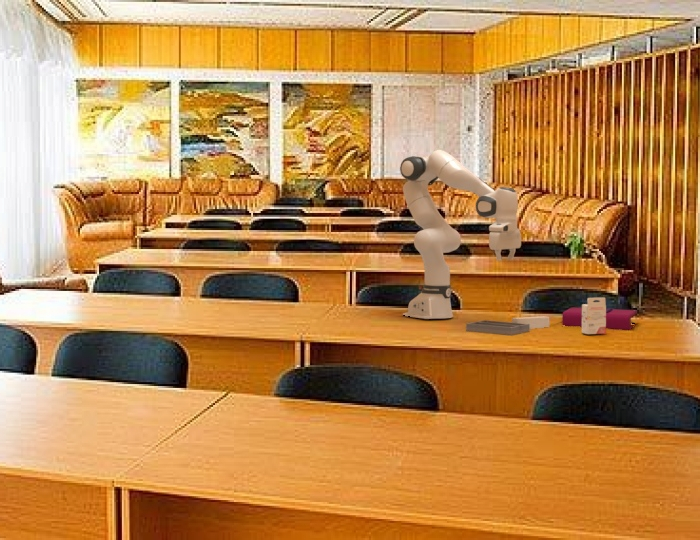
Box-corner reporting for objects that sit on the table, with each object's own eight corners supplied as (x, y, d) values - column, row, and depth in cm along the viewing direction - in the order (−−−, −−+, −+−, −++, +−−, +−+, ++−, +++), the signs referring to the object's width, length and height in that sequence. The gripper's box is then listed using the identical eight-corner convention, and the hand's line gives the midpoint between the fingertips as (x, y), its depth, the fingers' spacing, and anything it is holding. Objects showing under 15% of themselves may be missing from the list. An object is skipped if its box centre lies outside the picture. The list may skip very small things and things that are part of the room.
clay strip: (517, 331, 438) (517, 318, 437) (511, 329, 441) (511, 317, 441) (549, 329, 444) (549, 317, 444) (543, 328, 448) (543, 316, 448)
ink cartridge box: (599, 332, 434) (600, 296, 432) (605, 333, 429) (606, 297, 428) (580, 332, 431) (581, 296, 430) (586, 334, 426) (587, 297, 425)
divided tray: (466, 330, 435) (466, 323, 435) (484, 327, 447) (484, 320, 447) (511, 335, 422) (511, 327, 422) (529, 331, 434) (529, 324, 434)
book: (629, 332, 437) (630, 313, 437) (561, 328, 448) (562, 310, 448) (636, 326, 457) (637, 308, 456) (571, 322, 467) (572, 305, 467)
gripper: (512, 225, 450) (511, 258, 451) (486, 226, 434) (485, 260, 435) (525, 226, 446) (524, 259, 447) (500, 227, 430) (499, 261, 431)
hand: (505, 259), depth 441 cm, fingers open, 8 cm apart
